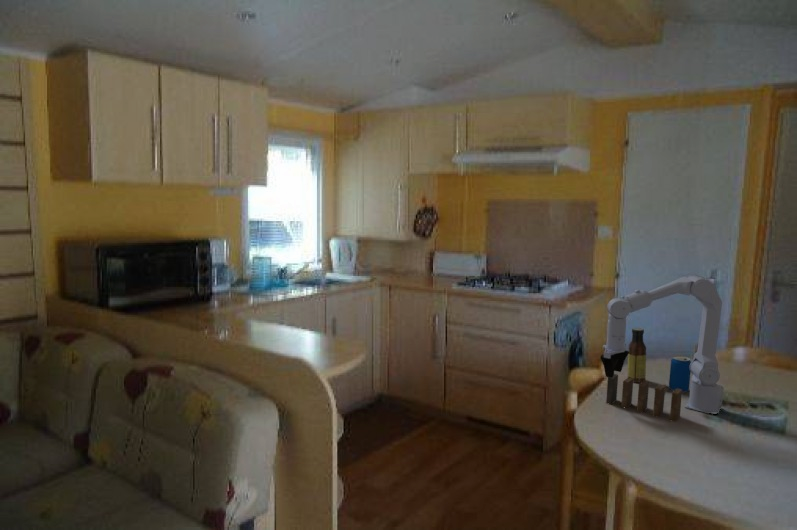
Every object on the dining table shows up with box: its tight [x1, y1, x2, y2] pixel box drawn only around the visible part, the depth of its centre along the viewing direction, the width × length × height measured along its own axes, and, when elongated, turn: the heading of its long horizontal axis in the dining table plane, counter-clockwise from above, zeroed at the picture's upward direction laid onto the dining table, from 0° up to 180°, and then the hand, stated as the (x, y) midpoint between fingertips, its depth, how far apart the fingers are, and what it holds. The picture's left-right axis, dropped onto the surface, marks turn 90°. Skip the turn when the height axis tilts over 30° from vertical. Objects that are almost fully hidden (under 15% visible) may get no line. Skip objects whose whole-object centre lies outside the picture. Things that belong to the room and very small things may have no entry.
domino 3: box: [636, 380, 650, 413], centre depth 183 cm, size 2×5×9 cm, turn 139°
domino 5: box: [669, 389, 683, 422], centre depth 177 cm, size 2×5×9 cm, turn 139°
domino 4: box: [652, 384, 666, 418], centre depth 180 cm, size 2×5×9 cm, turn 139°
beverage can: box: [668, 355, 692, 394], centre depth 200 cm, size 6×6×12 cm
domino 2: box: [620, 376, 634, 409], centre depth 186 cm, size 2×5×9 cm, turn 139°
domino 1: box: [605, 373, 619, 405], centre depth 190 cm, size 2×5×9 cm, turn 139°
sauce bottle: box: [627, 327, 647, 384], centre depth 210 cm, size 7×6×20 cm
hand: (613, 374), depth 189 cm, fingers open, 7 cm apart
